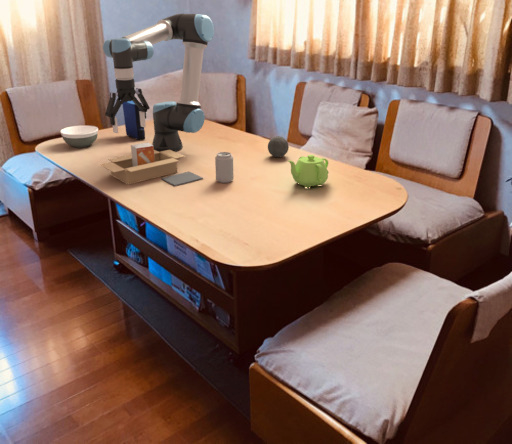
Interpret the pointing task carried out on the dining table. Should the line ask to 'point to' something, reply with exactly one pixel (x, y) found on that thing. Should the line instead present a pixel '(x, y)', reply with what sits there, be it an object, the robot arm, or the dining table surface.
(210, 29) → the robot arm
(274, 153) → the decorative ball
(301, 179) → the teapot
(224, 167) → the can
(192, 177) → the mat
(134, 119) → the book
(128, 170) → the carton
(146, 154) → the small box
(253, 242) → the dining table surface
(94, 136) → the bowl
